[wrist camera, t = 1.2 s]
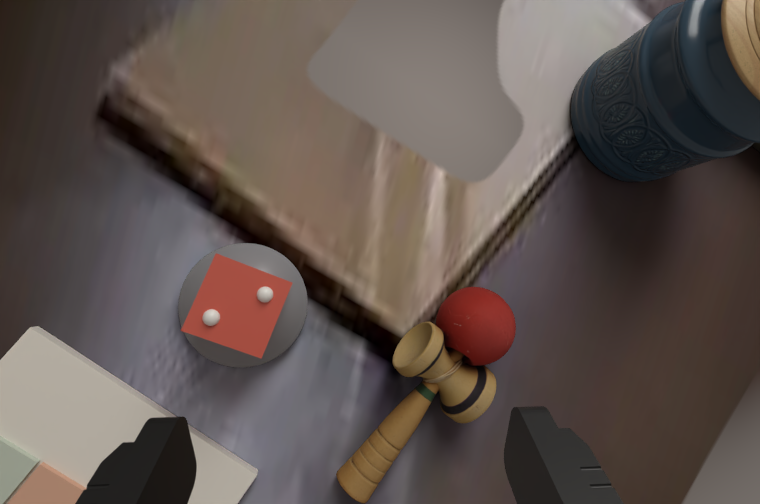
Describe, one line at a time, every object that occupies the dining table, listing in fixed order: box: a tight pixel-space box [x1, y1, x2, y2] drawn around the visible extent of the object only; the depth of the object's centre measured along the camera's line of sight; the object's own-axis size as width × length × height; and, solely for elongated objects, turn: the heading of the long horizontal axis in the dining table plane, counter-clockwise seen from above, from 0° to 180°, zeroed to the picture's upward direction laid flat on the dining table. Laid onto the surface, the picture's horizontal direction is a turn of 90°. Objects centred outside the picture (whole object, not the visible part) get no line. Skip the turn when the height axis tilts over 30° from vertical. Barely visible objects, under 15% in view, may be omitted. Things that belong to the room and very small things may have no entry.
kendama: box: [336, 287, 516, 503], centre depth 32 cm, size 8×6×18 cm
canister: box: [571, 0, 760, 182], centre depth 33 cm, size 13×13×18 cm
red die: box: [178, 243, 308, 367], centre depth 29 cm, size 9×9×6 cm
